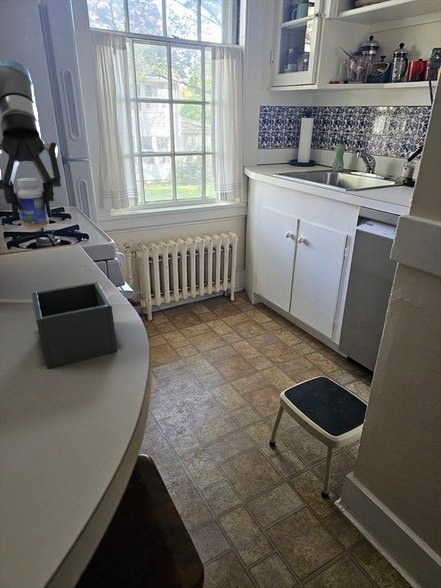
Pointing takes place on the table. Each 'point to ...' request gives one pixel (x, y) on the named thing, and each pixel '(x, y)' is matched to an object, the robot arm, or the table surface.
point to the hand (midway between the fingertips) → (32, 214)
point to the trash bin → (74, 323)
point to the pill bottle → (31, 204)
